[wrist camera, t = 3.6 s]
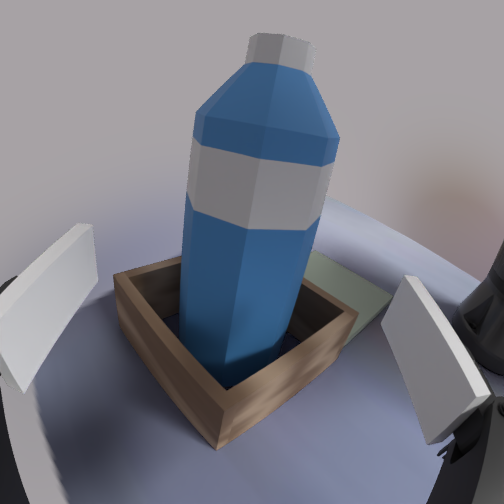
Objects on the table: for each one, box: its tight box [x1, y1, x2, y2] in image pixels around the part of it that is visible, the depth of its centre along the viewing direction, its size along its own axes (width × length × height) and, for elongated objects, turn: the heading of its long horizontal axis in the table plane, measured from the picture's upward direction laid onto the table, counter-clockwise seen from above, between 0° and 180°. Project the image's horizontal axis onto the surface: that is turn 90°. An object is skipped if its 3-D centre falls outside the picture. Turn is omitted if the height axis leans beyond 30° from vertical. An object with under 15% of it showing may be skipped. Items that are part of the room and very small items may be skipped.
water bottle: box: [179, 33, 340, 387], centre depth 21 cm, size 9×9×25 cm
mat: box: [303, 251, 393, 347], centre depth 37 cm, size 14×14×1 cm
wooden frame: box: [113, 256, 359, 451], centre depth 25 cm, size 15×15×6 cm
